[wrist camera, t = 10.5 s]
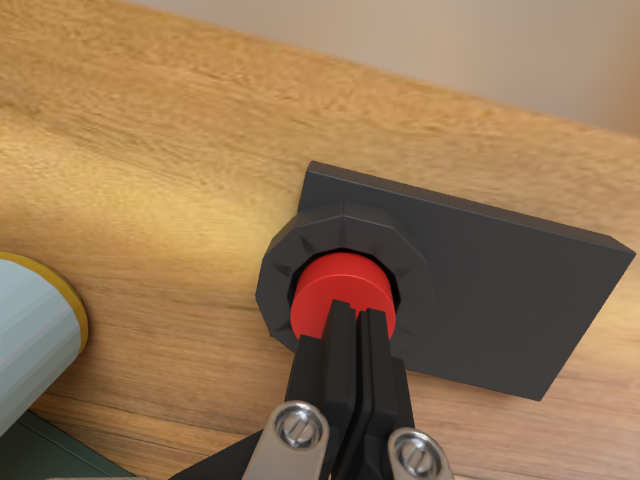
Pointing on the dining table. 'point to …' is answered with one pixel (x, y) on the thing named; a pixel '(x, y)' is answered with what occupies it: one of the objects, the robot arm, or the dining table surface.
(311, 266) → the button
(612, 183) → the dining table surface
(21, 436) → the cupboard
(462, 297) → the switch
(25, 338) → the bottle
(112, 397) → the dining table surface
